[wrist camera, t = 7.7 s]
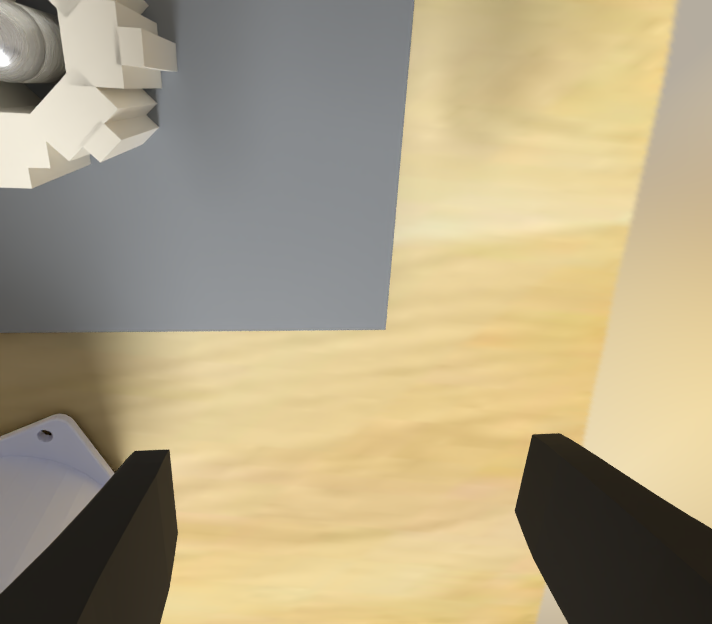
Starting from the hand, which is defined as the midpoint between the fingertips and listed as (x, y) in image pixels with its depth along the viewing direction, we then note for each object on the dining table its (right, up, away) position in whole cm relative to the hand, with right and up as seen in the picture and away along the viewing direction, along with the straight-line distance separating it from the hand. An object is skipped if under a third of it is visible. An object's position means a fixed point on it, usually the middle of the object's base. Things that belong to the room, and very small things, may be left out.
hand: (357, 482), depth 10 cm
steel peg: (-8, +11, +4) cm, 14 cm away
